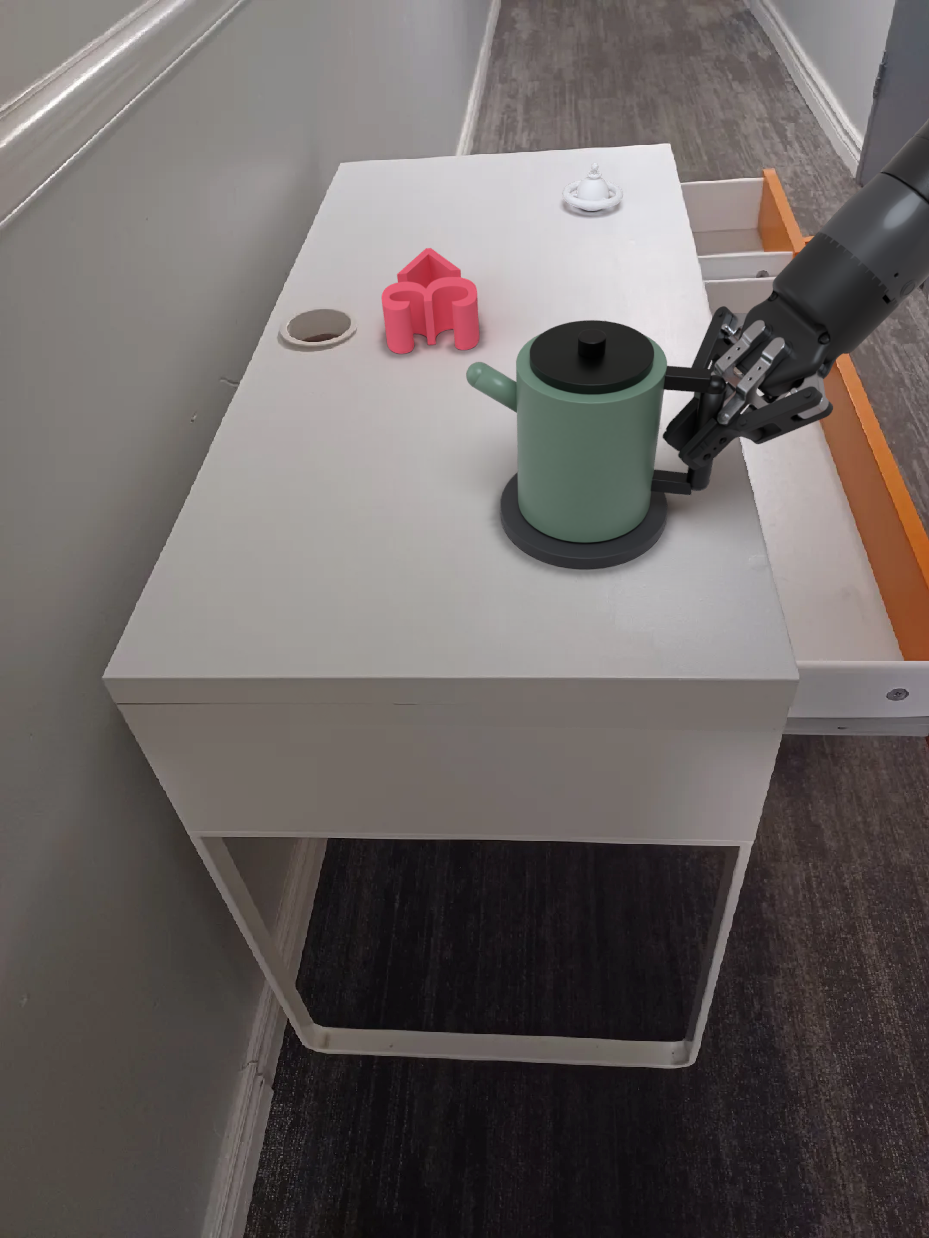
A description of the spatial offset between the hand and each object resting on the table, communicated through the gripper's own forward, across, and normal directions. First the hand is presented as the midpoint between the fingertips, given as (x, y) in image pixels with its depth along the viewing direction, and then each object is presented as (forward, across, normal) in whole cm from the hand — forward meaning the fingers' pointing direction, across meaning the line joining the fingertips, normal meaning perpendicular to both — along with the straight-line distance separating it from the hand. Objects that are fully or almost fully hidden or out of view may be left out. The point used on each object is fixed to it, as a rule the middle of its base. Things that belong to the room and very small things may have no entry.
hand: (679, 453), depth 67 cm
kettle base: (+10, -5, +2) cm, 11 cm away
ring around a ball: (-8, -62, +21) cm, 66 cm away
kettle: (+8, -5, +1) cm, 10 cm away
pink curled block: (+11, -42, +1) cm, 43 cm away
